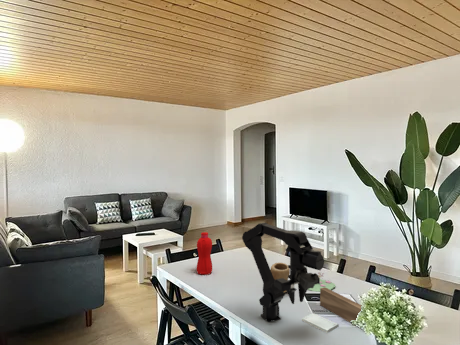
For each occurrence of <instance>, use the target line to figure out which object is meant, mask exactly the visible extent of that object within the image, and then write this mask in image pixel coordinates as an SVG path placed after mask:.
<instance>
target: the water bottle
mask: <svg viewBox="0 0 460 345" xmlns="http://www.w3.org/2000/svg"><path fill="white" fill-rule="evenodd" d="M212 248H213V240H212V238H210V237H209V232H201V233H200V237H199V238H198V240H197V242H196V249H197V253H198V256H197V257H198V259H197V264H196V273H197V274H198V275H202V276H203V275H206V276H208V275H210V274H211V273H212V272H213V262H212V257H211V253H212Z"/></svg>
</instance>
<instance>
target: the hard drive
mask: <svg viewBox="0 0 460 345" xmlns="http://www.w3.org/2000/svg"><path fill="white" fill-rule="evenodd" d="M301 321H302V322H304V323H305V324H308V325H310V326H311V327H313V328H316V329H318V330H319V331H321V332H323V333H326V334H328V333H331V332H332V331H333V330H335V329H337V328H339V326H340V324H338V323H337V322H334V321H332V320H330V319H328V318H326V317H323V316H321V315H319V314H317V313H314V312H312V313H310V314H308V315H306V316H304V317H302V318H301Z"/></svg>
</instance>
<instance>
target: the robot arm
mask: <svg viewBox="0 0 460 345" xmlns="http://www.w3.org/2000/svg"><path fill="white" fill-rule="evenodd" d="M265 235H266V236H270V237H272V238H275V239H277V240H281V241H283V242H284V244H285V245H287V246H288V247H287V248H285V251H286V252H289V264H287V265H288V268H290V274H289V275H288V280H286V279H284V278H280V279H276V280H275V279H274V278H273V275H272V273H271V267H270V265H269V262H268V261H267V258H266V256H265V253H264V251H263V250H264V249H263V248H262V244H263V239H262V237H263V236H265ZM241 237H242V242H243V243H244V245H245V247H246V248H247V249H248V250H249V251H250V252H251V254H252V257H253V259H254V261H255V262H254V263H255V265H256V267H257V270H258V272H259V276H260V278H261V280H262V283H263V284H262V291H263V292H262V293H263V296H261V297H260V298H258V301H259V304H260V306H262V314H260V317H261V318H263V319H264V320H265V322H267V323H271V322H274V321H275V322H276V321H279V320H281V316H280V306H279V304H280V303H282V302H281V301H282V300H283V299H284V297H285V293H284V291H287V292H286V293H287V295H288V297H289V300H290V303H291V304H292V305H294V304H295V299H296V298H295V297H296V294H295V293H296V292H297V288H295V285H297V286H298V297H299V302H300V303H303V301H304V299H305V296H306V293H307V292H308V290H307V289H309V288H314V285H315V284H320V279H321V278H320V279H319V277H320V276H319V277H318V275H319V274H318V273H316V272H315V273H313V272H308V268H309V269H313V270H317V271H320V270H322V269H323V267H324V266H325V259H324V258H325V257H324V256H323V254H322V252H321V251H319V250H314V248H313V246H312V244H311V243H310V241H309V239H308V237H307V235H306V233H305V232H304V231H300V230H287V229H284V228H281V227H278V226H275V225H271V224H269V223H267V222H260V223H258V224H256V225H255V226H254V227H252V228H250V229H249V230H247V231H244V232H243V234H242V236H241Z"/></svg>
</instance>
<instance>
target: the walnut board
mask: <svg viewBox="0 0 460 345" xmlns="http://www.w3.org/2000/svg"><path fill="white" fill-rule="evenodd" d="M319 295H320V296H319V304H320V305H319V306H321V307H322V306H323V308H324V309H326V310H328V311H329V310H330V311H329V312H332V313H333V314H334V315H336V316H338V317H340V318H341V319H344V320H345V321H347V322H348V323H350V321H351V320H356V318H357V315H358V313H359V312H360V311H361V306H363V305H362V304H360V303H358V302H355V301H354V300H351V299H350V298H348V297H345V296H344V295H341V294H339V293H337V292H335V291H333V289H331V290H330V289H328V288H325V287H324V288H320V292H319Z"/></svg>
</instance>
